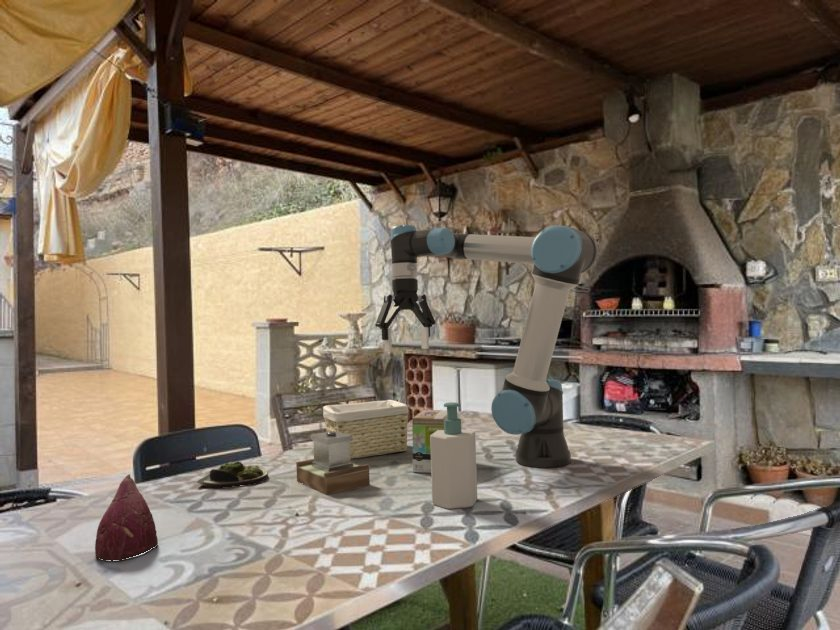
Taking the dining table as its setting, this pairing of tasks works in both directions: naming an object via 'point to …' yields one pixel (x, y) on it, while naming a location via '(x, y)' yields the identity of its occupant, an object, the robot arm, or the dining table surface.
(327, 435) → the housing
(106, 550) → the vegetable
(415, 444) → the tea box
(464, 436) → the soap bottle
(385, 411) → the storage basket
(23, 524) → the dining table surface
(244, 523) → the dining table surface
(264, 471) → the salad plate
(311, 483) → the stand
